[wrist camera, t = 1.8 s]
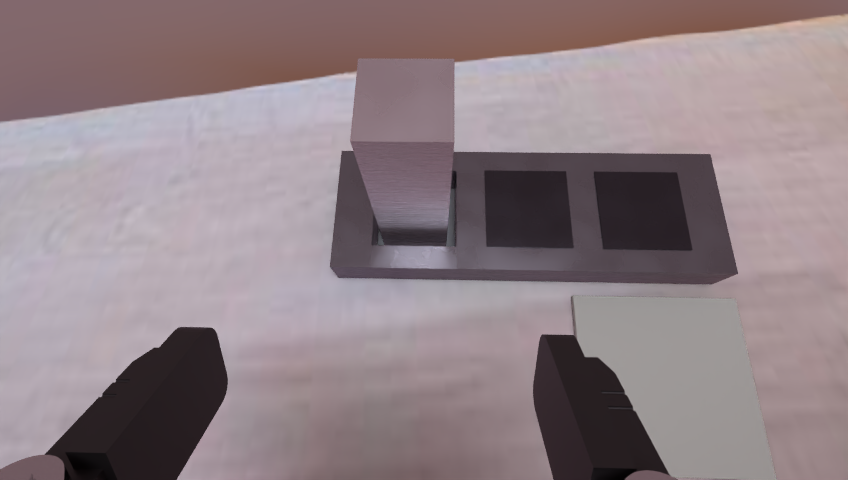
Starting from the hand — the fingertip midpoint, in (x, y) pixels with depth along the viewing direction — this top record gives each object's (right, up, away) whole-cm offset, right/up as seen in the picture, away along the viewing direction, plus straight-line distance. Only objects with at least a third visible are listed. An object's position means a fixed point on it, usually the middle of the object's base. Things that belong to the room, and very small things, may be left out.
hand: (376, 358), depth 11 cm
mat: (+15, -5, +15) cm, 22 cm away
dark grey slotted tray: (+8, +4, +18) cm, 20 cm away
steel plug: (+1, +4, +19) cm, 19 cm away
